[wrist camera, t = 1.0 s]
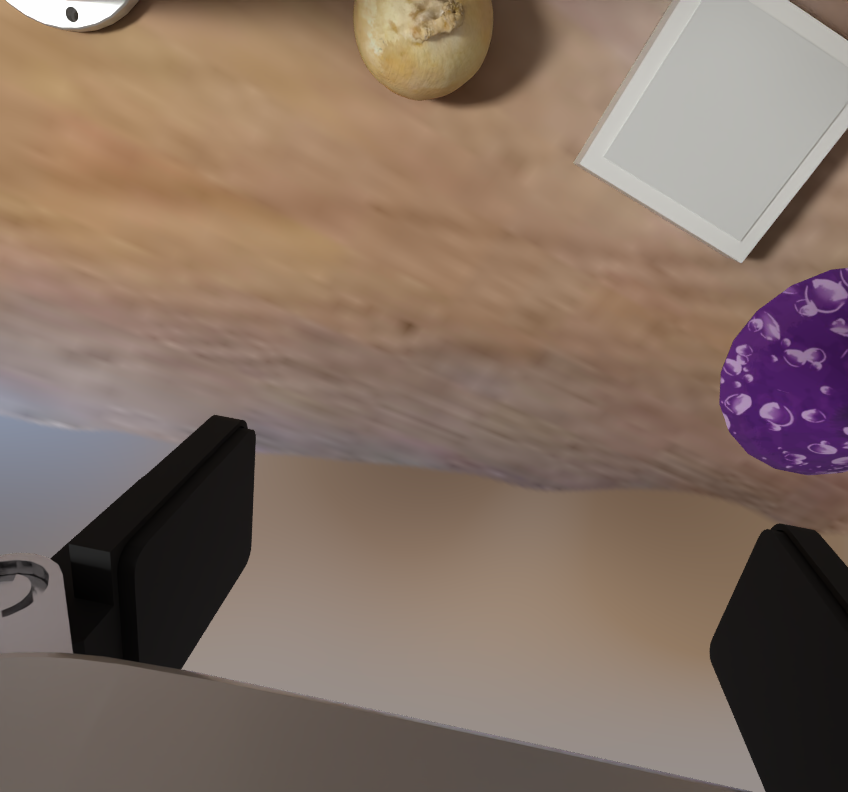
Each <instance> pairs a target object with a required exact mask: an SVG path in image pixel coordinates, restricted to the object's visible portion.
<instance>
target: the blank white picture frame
mask: <svg viewBox="0 0 848 792" xmlns="http://www.w3.org/2000/svg"><path fill="white" fill-rule="evenodd" d="M847 128H848V40H846V39H845V38H843V37H842V36H840V35H839V34H837V33H836V32H834V31H833V30H831V29H830V28H828V27H827V26H825V25H824V24H822V23H821V22H819V21H818V20H817V19H815V18H814V17H812V16H811V15H809V14H808V13H806V12H805V11H803V10H802V9H800V8H799V7H797V6H796V5H794V4H793V3H791V2H790V1H788V0H672V2H671V4H670V5H669V7H668V9H667V10H666V12H665V13H664V15H663V17H662V18H661V20H660V22H659V23H658V25H657V27H656V28H655V30H654V31H653V33H652V35H651V36H650V38H649V40H648V41H647V43H646V45H645V46H644V48H643V49H642V51H641V53H640V54H639V56H638V58H637V59H636V61H635V63H634V64H633V66H632V67H631V69H630V71H629V72H628V74H627V76H626V77H625V79H624V81H623V82H622V84H621V85H620V87H619V89H618V90H617V92H616V94H615V95H614V97H613V99H612V100H611V102H610V103H609V105H608V107H607V108H606V110H605V112H604V113H603V115H602V117H601V118H600V120H599V122H598V123H597V125H596V126H595V128H594V130H593V131H592V133H591V135H590V136H589V138H588V140H587V141H586V143H585V144H584V146H583V148H582V149H581V151H580V153H579V154H578V156H577V158H576V159H575V161H574V162H573V164H575V165H577V166H578V167H580V168H582V169H583V170H585V171H587V172H588V173H590V174H591V175H593V176H595V177H596V178H598V179H600V180H601V181H603V182H604V183H606V184H608V185H609V186H611V187H613V188H614V189H616V190H618V191H619V192H621V193H622V194H624V195H626V196H627V197H629V198H631V199H632V200H634V201H635V202H637V203H639V204H640V205H642V206H644V207H645V208H647V209H649V210H650V211H652V212H653V213H655V214H657V215H658V216H660V217H662V218H663V219H665V220H666V221H668V222H670V223H671V224H673V225H675V226H676V227H678V228H680V229H681V230H683V231H684V232H686V233H688V234H689V235H691V236H693V237H694V238H696V239H697V240H699V241H701V242H702V243H704V244H706V245H707V246H709V247H711V248H712V249H714V250H715V251H717V252H719V253H720V254H722V255H724V256H726V257H728V258H730V259H733V260H735V261H737V262H739V263H742V262H743V261H744V260H745V258H746V257H747V256H748V254H749V253H750V252H751V251H752V249H753V248H754V247H755V245H756V244H757V243H758V242H759V240H760V239H761V238H762V237H763V235H764V234H765V233H766V231H767V230H768V229H769V228H770V226H771V225H772V224H773V223H774V221H775V220H776V219H777V217H778V216H779V215H780V214H781V212H782V211H783V210H784V208H785V207H786V206H787V205H788V203H789V202H790V201H791V200H792V198H793V197H794V196H795V194H796V193H797V192H798V191H799V189H800V188H801V187H802V186H803V184H804V183H805V182H806V180H807V179H808V178H809V177H810V175H811V174H812V173H813V171H814V170H815V169H816V168H817V166H818V165H819V164H820V163H821V161H822V160H823V159H824V157H825V156H826V155H827V154H828V152H829V151H830V150H831V149H832V147H833V146H834V145H835V143H836V142H837V141H838V140H839V138H840V137H841V136H842V135H843V133H844V132H845V131H846V129H847Z"/></svg>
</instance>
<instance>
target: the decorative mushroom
mask: <svg viewBox="0 0 848 792" xmlns="http://www.w3.org/2000/svg"><path fill="white" fill-rule="evenodd" d="M720 407H721V410H722V412H723V415H724V418H725V421H726V424H727V427H728V430H729V432H730V433H731V435H732V436H733V437H734V438H735V439H736V440H737V441H738V443H739V444H740V445H741V446H742V447H743V448H744V449H745V451H746V452H747V453H748V454H749V455H751V456H753V457H755V458H757V459H758V460H760V461H762V462H764V463H766V464H768V465H769V466H771V467H773V468H775V469H779V470H784V471H789V472H794V473H799V474H804V475H818V474H831V473H842V472H846V471H848V268H843V269H835V270H829V271H827V272H824V273H822V274H819V275H817V276H814V277H812V278H809V279H807V280H804V281H802V282H799V283H797V284H794V285H792V286H790V287H789V288H788V289H786V290H785V291H784V292H782V293H781V294H779V295H778V296H777V297H775V298H774V299H773V300H771V301H770V302H769V303H767V304H766V305H765V306H763V307H762V308H760V309H759V310H758V311H757V312H756V313H755V314H754V315H753V317H752V318H751V319H750V320H749V322H748V323H747V324H746V325H745V327H744V328H743V329H742V330H741V332H740V333H739V334H738V335H737V337H736V338H735V339H734V340H733V343H732V345H731V348H730V350H729V353H728V355H727V358H726V360H725V363H724V365H723V368H722V370H721V381H720Z"/></svg>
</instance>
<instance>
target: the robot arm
mask: <svg viewBox="0 0 848 792" xmlns="http://www.w3.org/2000/svg"><path fill="white" fill-rule="evenodd" d="M6 1H7V2H8V3H9V4H10V5H11V6H13V7H14V8H16V9H17V10H18V11H20V12H21V13H23V14H24V15H26V16H27V17H29V18H31V19H33V20H36V21H38V22H40V23H42V24H44V25H47V26H51V27H54V28H58V29H61V30H67V31H75V32H85V31H94V30H99V29H102V28H104V27H107V26H109V25H112V24H114V23H115V22H117V21H118V20H120V19H121V18H122V17H124V16H125V15H127V14H128V13H129V11H130V10H131V9H132V8H133V7H134V6H135V5H136V4H137V2H138V1H139V0H6ZM78 15H79V19H78ZM255 443H256V435H255V431H254V430H251V429H248V427H247V423H246V422H245V421H244V420H239V419H234V418H229V417H223V416H218V415H213V416H212V417H210V418H209V419H208V420H207V421H206V422H205V423H204V424H203V425H201V426H200V427H199V428H198V429H197V430H196V431H195V432H194V433H192V434H191V435H190V436H189V437H188V438H187V439H186V440H185V441H183V442H182V443H181V444H180V445H179V446H178V447H177V448H176V449H175V450H174V451H172V452H171V453H170V454H169V455H168V456H167V457H165V458H164V459H163V460H162V461H161V462H160V463H159V464H158V465H157V466H155V467H154V468H153V469H152V470H151V471H150V472H149V473H147V474H146V475H145V476H144V477H142V478H141V479H140V480H138V481H137V482H136V483H135V484H134V485H133V486H132V487H131V488H129V490H127V491H126V492H125V493H124V494H123V495H122V496H121V497H119V498H118V499H117V500H116V501H115V502H114V503H112V504H111V505H110V506H109V507H108V508H107V509H106V510H105V511H104V512H102V513H101V514H100V515H99V516H98V517H97V518H96V519H94V520H93V521H92V522H91V523H90V524H89V525H88V526H87V527H85V528H84V529H83V530H82V531H81V532H80V533H79V534H78V535H76V536H75V537H74V538H73V539H72V540H71V541H70V542H69V543H67V544H66V545H65V546H64V547H63V548H62V549H61V550H60V551H58V552H57V553H56V554H55V555H54V556H53V557H52V558H48V557H44V556H40V555H37V554H30V553H12V554H5V555H0V792H751V791H747V790H741V789H738V788H733V787H728V786H724V785H720V784H715V783H711V782H706V781H702V780H697V779H693V778H688V777H684V776H679V775H675V774H670V773H666V772H661V771H657V770H652V769H648V768H643V767H639V766H634V765H630V764H625V763H620V762H616V761H611V760H607V759H602V758H598V757H593V756H588V755H584V754H579V753H575V752H569V751H565V750H561V749H556V748H551V747H547V746H542V745H538V744H533V743H529V742H524V741H519V740H515V739H510V738H505V737H500V736H496V735H492V734H487V733H482V732H478V731H473V730H468V729H464V728H459V727H455V726H450V725H445V724H440V723H436V722H431V721H427V720H422V719H417V718H412V717H408V716H403V715H398V714H393V713H389V712H384V711H379V710H374V709H370V708H364V707H360V706H355V705H350V704H346V703H341V702H336V701H331V700H327V699H322V698H317V697H313V696H308V695H303V694H298V693H294V692H289V691H284V690H279V689H275V688H270V687H264V686H260V685H256V684H251V683H246V682H241V681H236V680H231V679H226V678H222V677H217V676H212V675H207V674H202V673H197V672H193V671H186V670H181V669H182V667H183V665H184V664H185V662H186V661H187V659H188V657H189V656H190V654H191V653H192V651H193V649H194V648H195V646H196V645H197V643H198V641H199V640H200V638H201V637H202V635H203V633H204V632H205V630H206V629H207V627H208V625H209V624H210V622H211V620H212V619H213V617H214V616H215V614H216V613H217V611H218V609H219V608H220V606H221V605H222V603H223V601H224V600H225V598H226V597H227V595H228V593H229V592H230V590H231V589H232V587H233V585H234V584H235V582H236V580H237V579H238V577H239V576H240V574H241V573H242V571H243V569H244V568H245V566H246V564H247V562H248V559H249V556H250V551H251V541H252V540H251V539H252V516H253V492H254V467H255ZM710 659H711V663H712V665H713V668H714V670H715V673H716V675H717V677H718V680H719V682H720V684H721V687H722V689H723V692H724V694H725V696H726V699H727V701H728V703H729V706H730V708H731V710H732V713H733V715H734V718H735V720H736V722H737V725H738V727H739V730H740V732H741V734H742V737H743V739H744V741H745V744H746V746H747V748H748V751H749V753H750V755H751V758H752V760H753V763H754V765H755V767H756V770H757V772H758V774H759V777H760V779H761V781H762V784H763V786H764V789H765V791H766V792H848V567H847V566H846V565H845V564H844V562H843V561H842V560H841V559H840V558H839V557H838V555H837V554H836V553H835V552H834V551H833V550H832V548H831V547H830V546H829V545H828V544H827V543H826V542H825V540H824V539H823V538H822V537H821V535H820V534H819V533H817V532H816V531H815V530H811V529H806V528H801V527H796V526H791V525H785V524H780V523H779V524H776V525H775V526H773V527H772V528H771V530H769V529H766V530H764V531H763V532H762V533H761V534H760V536H759V538H758V540H757V542H756V544H755V546H754V549H753V551H752V553H751V555H750V557H749V559H748V562H747V564H746V566H745V568H744V570H743V573H742V575H741V577H740V579H739V581H738V583H737V586H736V588H735V590H734V592H733V595H732V597H731V599H730V601H729V603H728V605H727V608H726V610H725V612H724V614H723V616H722V618H721V621H720V623H719V625H718V627H717V629H716V632H715V634H714V636H713V638H712V641H711V644H710Z"/></svg>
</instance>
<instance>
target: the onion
mask: <svg viewBox="0 0 848 792" xmlns="http://www.w3.org/2000/svg"><path fill="white" fill-rule="evenodd" d="M353 25H354V33H355V38H356V43H357V46H358V49H359V52H360V55H361V57H362V59H363V61H364V63H365V65H366V67H367V68H368V69H369V71H370V72H371V74H372V75H373V76H374V77H375V78H376V79H377V80H378V81H379V82H380V83H382V84H383V85H384V86H385V87H386V88H388V89H389V90H391V91H392V92H394V93H395V94H397V95H400V96H402V97H406V98H408V99H413V100H418V101H422V100H429V99H434V98H439V97H442V96H445V95H448V94H450V93H452V92H454V91H455V90H457V89H458V88H459V87H461V86H462V85H463V84H465V83H466V82H467V81H468V80H469V79H470V78H472V77H473V76H474V75H475V73H476V72H477V71H478V70H479V69H480V67H481V65H482V63H483V61H484V59H485V57H486V54H487V52H488V48H489V45H490V41H491V37H492V31H493V8H492V1H491V0H355V2H354V9H353Z"/></svg>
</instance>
